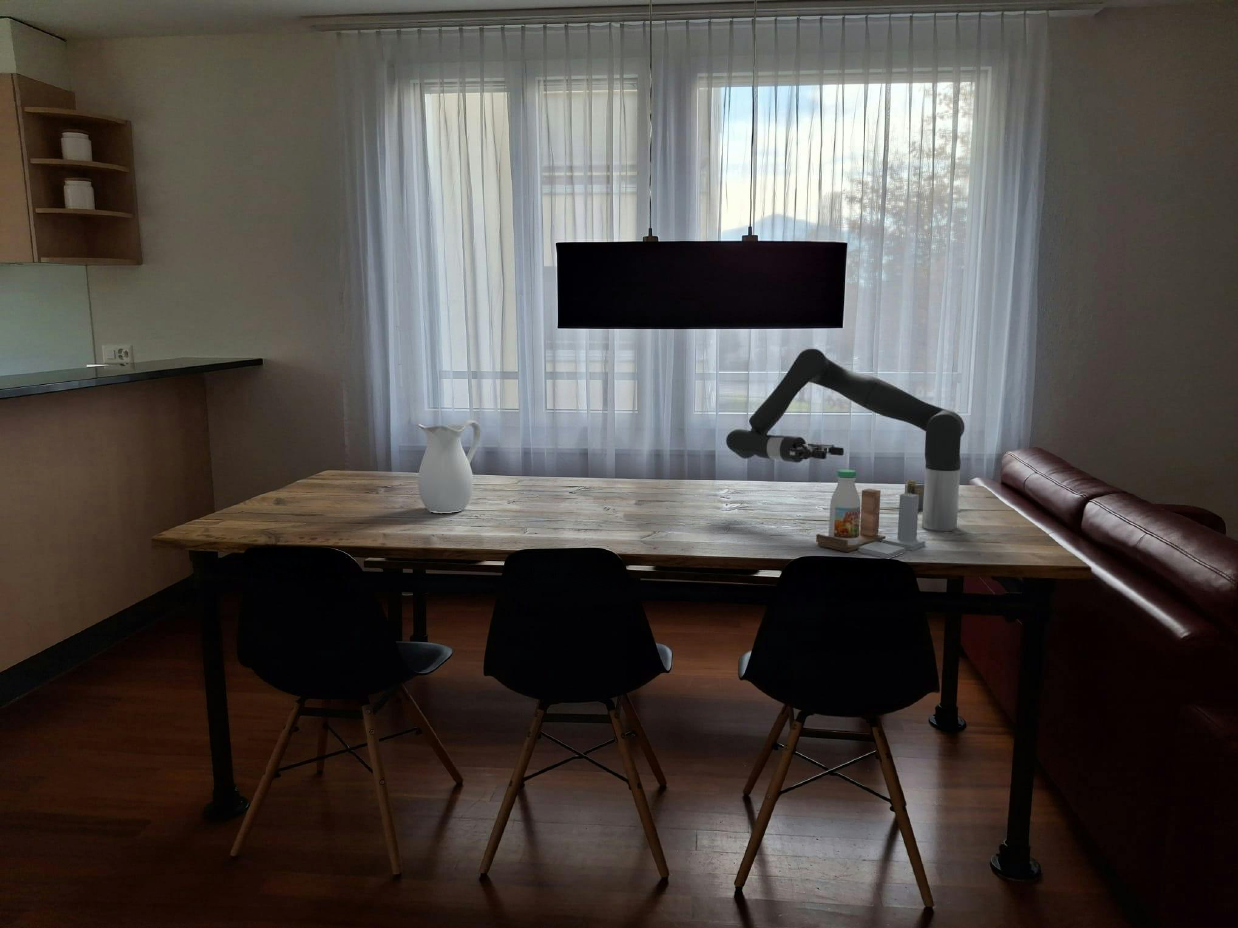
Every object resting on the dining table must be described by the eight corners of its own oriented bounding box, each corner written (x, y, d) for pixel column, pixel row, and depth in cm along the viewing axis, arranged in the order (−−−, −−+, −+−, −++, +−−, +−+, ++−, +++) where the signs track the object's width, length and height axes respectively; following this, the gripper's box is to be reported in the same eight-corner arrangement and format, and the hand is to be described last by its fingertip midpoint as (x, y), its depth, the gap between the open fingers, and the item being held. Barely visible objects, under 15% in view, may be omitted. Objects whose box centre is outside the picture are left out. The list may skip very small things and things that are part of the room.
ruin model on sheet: (906, 509, 265) (908, 479, 263) (903, 507, 268) (905, 477, 266) (943, 510, 264) (945, 479, 263) (940, 508, 267) (942, 478, 266)
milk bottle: (822, 545, 221) (826, 470, 218) (836, 540, 227) (840, 467, 223) (850, 550, 216) (854, 474, 213) (863, 545, 222) (867, 470, 218)
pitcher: (444, 519, 252) (440, 427, 248) (407, 511, 262) (403, 423, 258) (500, 505, 271) (498, 419, 266) (465, 498, 281) (462, 415, 276)
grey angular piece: (895, 539, 228) (898, 491, 226) (924, 545, 222) (928, 496, 219) (858, 551, 216) (860, 501, 214) (888, 558, 210) (891, 506, 208)
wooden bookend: (858, 532, 234) (860, 487, 232) (887, 539, 227) (889, 492, 225) (815, 545, 221) (817, 497, 219) (845, 552, 214) (847, 502, 212)
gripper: (771, 438, 240) (820, 442, 228) (800, 433, 250) (848, 437, 238) (771, 464, 241) (819, 470, 230) (800, 458, 251) (848, 463, 239)
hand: (834, 453), depth 234 cm, fingers open, 8 cm apart
